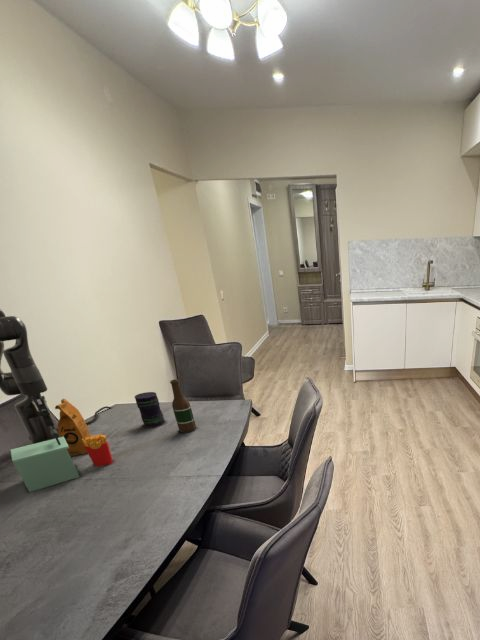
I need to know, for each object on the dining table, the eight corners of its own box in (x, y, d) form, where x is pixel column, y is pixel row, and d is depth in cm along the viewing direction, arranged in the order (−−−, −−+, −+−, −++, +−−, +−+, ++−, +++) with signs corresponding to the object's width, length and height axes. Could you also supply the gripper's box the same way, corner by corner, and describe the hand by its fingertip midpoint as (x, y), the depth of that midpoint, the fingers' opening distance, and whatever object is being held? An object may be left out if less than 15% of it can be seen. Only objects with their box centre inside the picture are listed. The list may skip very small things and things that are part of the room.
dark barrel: (169, 421, 199) (160, 393, 191) (153, 428, 191) (143, 399, 184) (155, 419, 203) (146, 391, 195) (139, 426, 195) (129, 397, 188)
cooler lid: (64, 438, 153) (58, 425, 150) (69, 448, 144) (63, 434, 141) (11, 451, 144) (4, 437, 141) (13, 462, 135) (5, 448, 132)
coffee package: (64, 457, 166) (41, 408, 155) (73, 446, 176) (52, 399, 165) (90, 453, 168) (69, 404, 157) (98, 442, 178) (78, 396, 167)
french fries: (91, 467, 156) (80, 440, 151) (94, 463, 160) (82, 436, 154) (115, 463, 159) (104, 436, 153) (116, 459, 162) (106, 432, 156)
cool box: (74, 465, 158) (61, 439, 152) (79, 476, 150) (66, 448, 144) (26, 479, 150) (11, 451, 144) (29, 492, 141) (13, 462, 135)
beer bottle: (199, 427, 190) (186, 378, 178) (188, 433, 184) (174, 383, 172) (187, 425, 193) (173, 377, 181) (175, 431, 186) (160, 382, 174)
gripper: (14, 377, 138) (35, 420, 146) (16, 385, 128) (38, 431, 136) (40, 373, 142) (59, 415, 150) (44, 380, 132) (64, 425, 140)
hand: (49, 423), depth 143 cm, fingers open, 8 cm apart
